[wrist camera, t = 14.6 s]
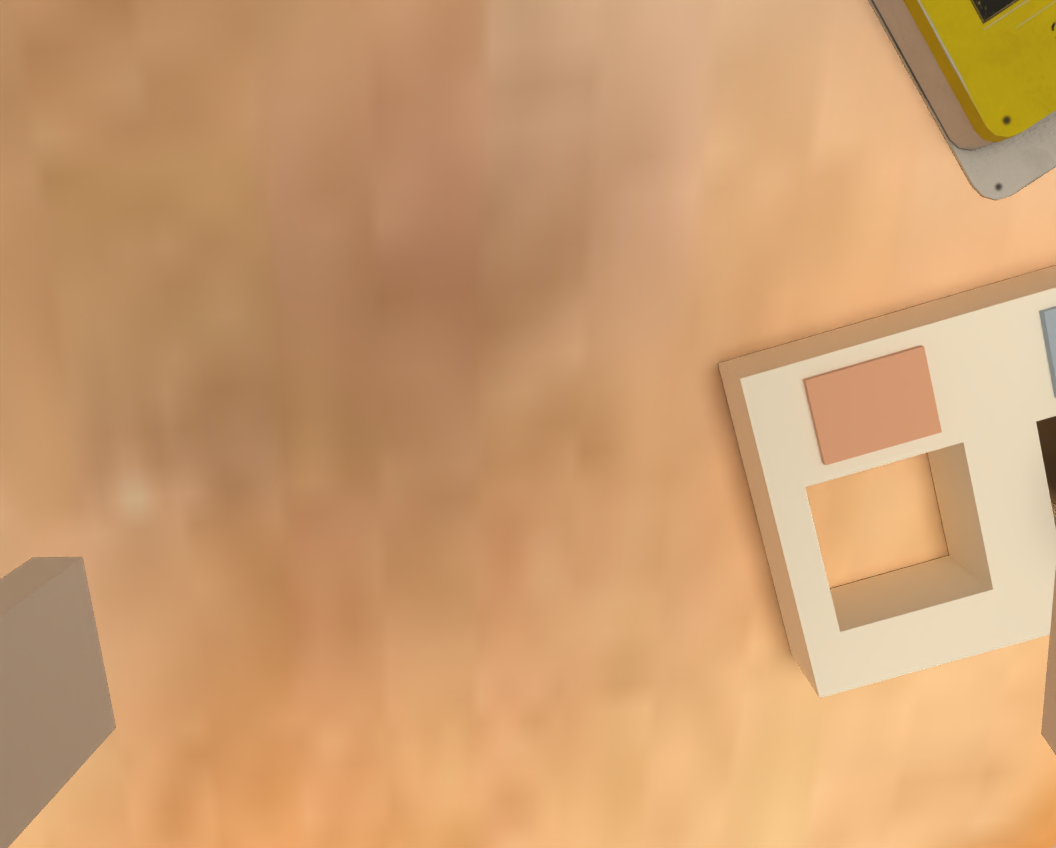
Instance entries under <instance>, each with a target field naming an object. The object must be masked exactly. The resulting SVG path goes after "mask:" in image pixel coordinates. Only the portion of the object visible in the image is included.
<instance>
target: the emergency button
mask: <svg viewBox="0 0 1056 848" xmlns="http://www.w3.org/2000/svg"><path fill="white" fill-rule="evenodd" d="M868 1H869V3H870V4H871V6H872V8H873V10H874V12H875V13H876V15H877V17H878V19H879V21H880V22H881V24H882V26H883V28H884V30H885V31H886V33H887V35H888V37H889V39H890V40H891V42H892V44H893V46H894V48H895V49H896V51H897V53H898V55H899V57H900V58H901V60H902V62H903V64H904V66H905V68H906V69H907V71H908V73H909V75H910V77H911V78H912V80H913V82H914V84H915V86H916V87H917V89H918V91H919V93H920V95H921V96H922V98H923V100H924V102H925V104H926V105H927V107H928V109H929V111H930V113H931V114H932V116H933V118H934V120H935V122H936V123H937V125H938V127H939V129H940V131H941V132H942V134H943V136H944V138H945V140H946V141H947V143H948V145H949V147H950V149H951V150H952V152H953V154H954V156H955V158H956V159H957V161H958V163H959V165H960V167H961V168H962V170H963V172H964V174H965V176H966V178H967V179H968V181H969V183H970V185H971V186H972V187H973V188H974V189H975V190H976V191H977V192H978V193H979V194H980V196H982V197H986V198H989V199H992V200H999V199H1002V198H1006V197H1009V196H1012V195H1013V194H1015V193H1016V192H1018V191H1019V190H1021V189H1022V188H1024V187H1026V186H1027V185H1029V184H1030V183H1032V182H1033V181H1035V180H1036V179H1038V178H1039V177H1041V176H1042V175H1044V174H1046V173H1047V172H1049V171H1050V170H1052V169H1053V168H1055V167H1056V0H868Z"/></svg>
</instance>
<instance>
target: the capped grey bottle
mask: <svg viewBox="0 0 1056 848" xmlns="http://www.w3.org/2000/svg"><path fill="white" fill-rule="evenodd" d="M1036 424H1037V430H1038V435H1039V440H1040V446H1041V451H1042V456H1043V462H1044V467H1045V473H1046V478H1047V483H1048V489H1049V494H1050V500H1051V502H1052V503H1054V504H1056V416H1054V417H1050V418H1047V419H1043V420H1040V421H1036Z"/></svg>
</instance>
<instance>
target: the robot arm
mask: <svg viewBox="0 0 1056 848" xmlns="http://www.w3.org/2000/svg"><path fill="white" fill-rule="evenodd" d="M115 728H116V724H115V719H114V714H113V709H112V704H111V699H110V694H109V689H108V684H107V679H106V674H105V668H104V663H103V658H102V653H101V648H100V643H99V638H98V633H97V628H96V623H95V618H94V612H93V607H92V602H91V597H90V592H89V587H88V582H87V577H86V572H85V567H84V562H83V557H38V558H31V559H30V560H28V561H27V562H25V563H24V564H22V565H21V566H19V567H18V568H16V569H15V570H13V571H12V572H10V573H9V574H7V575H6V576H4V577H3V578H2V579H0V848H8V847H9V846H10V845H11V844H12V843H13V841H14V840H15V839H16V838H17V837H18V836H19V835H20V834H21V833H22V831H23V830H24V829H25V828H26V827H27V826H28V825H29V824H30V823H31V821H32V820H33V819H34V818H35V817H36V816H37V815H38V814H39V813H40V811H41V810H42V809H43V808H44V807H45V806H46V805H47V804H48V803H49V801H50V800H51V799H52V798H53V797H54V796H55V795H56V794H57V793H58V791H59V790H60V789H61V788H62V787H63V786H64V785H65V784H66V783H67V781H68V780H69V779H70V778H71V777H72V776H73V775H74V774H75V773H76V771H77V770H78V769H79V768H80V767H81V766H82V765H83V764H84V763H85V761H86V760H87V759H88V758H89V757H90V756H91V755H92V754H93V753H94V751H95V750H96V749H97V748H98V747H99V746H100V745H101V744H102V743H103V741H104V740H105V739H106V738H107V737H108V736H109V735H110V734H111V733H112V731H113V730H114V729H115ZM1041 734H1042V736H1043V737H1044V739H1045V740H1046V741H1047V743H1048V744H1049V746H1050V747H1051V749H1052V750H1053V752H1054V753H1055V755H1056V570H1055V581H1054V593H1053V604H1052V616H1051V627H1050V639H1049V650H1048V662H1047V673H1046V685H1045V696H1044V707H1043V719H1042V730H1041Z"/></svg>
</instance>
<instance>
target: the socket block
mask: <svg viewBox="0 0 1056 848" xmlns="http://www.w3.org/2000/svg"><path fill="white" fill-rule="evenodd" d="M718 366H719V370H720V374H721V378H722V382H723V386H724V390H725V394H726V398H727V402H728V406H729V410H730V414H731V417H732V421H733V425H734V429H735V433H736V437H737V441H738V445H739V449H740V453H741V457H742V461H743V465H744V469H745V473H746V477H747V481H748V485H749V489H750V493H751V496H752V500H753V504H754V508H755V512H756V516H757V520H758V524H759V528H760V532H761V536H762V540H763V544H764V548H765V552H766V556H767V560H768V564H769V568H770V572H771V576H772V579H773V583H774V587H775V591H776V595H777V599H778V603H779V607H780V611H781V615H782V619H783V623H784V627H785V631H786V635H787V639H788V643H789V647H790V651H791V655H792V656H793V658H794V659H795V661H796V663H797V664H798V666H799V667H800V669H801V670H802V672H803V673H804V675H805V676H806V678H807V679H808V681H809V683H810V684H811V686H812V687H813V689H814V690H815V692H816V693H817V695H818V696H819V698H822V697H825V696H829V695H833V694H836V693H840V692H843V691H847V690H851V689H854V688H858V687H862V686H865V685H869V684H872V683H876V682H880V681H883V680H887V679H890V678H894V677H898V676H901V675H905V674H909V673H912V672H916V671H919V670H923V669H927V668H930V667H934V666H938V665H941V664H945V663H948V662H952V661H956V660H959V659H963V658H967V657H970V656H974V655H977V654H981V653H985V652H988V651H992V650H996V649H999V648H1003V647H1006V646H1010V645H1014V644H1017V643H1021V642H1025V641H1028V640H1032V639H1035V638H1039V637H1043V636H1046V635H1050V627H1051V616H1052V604H1053V593H1054V581H1055V570H1056V526H1055V521H1054V516H1053V510H1052V505H1051V500H1050V494H1049V489H1048V483H1047V478H1046V473H1045V467H1044V462H1043V456H1042V451H1041V446H1040V440H1039V435H1038V430H1037V424H1036V421H1040V420H1043V419H1047V418H1050V417H1054V416H1056V265H1055V266H1052V267H1048V268H1045V269H1041V270H1038V271H1034V272H1031V273H1027V274H1024V275H1021V276H1017V277H1014V278H1010V279H1007V280H1003V281H1000V282H996V283H993V284H990V285H986V286H983V287H979V288H976V289H972V290H969V291H965V292H962V293H959V294H955V295H952V296H948V297H945V298H941V299H938V300H934V301H931V302H928V303H924V304H921V305H917V306H914V307H910V308H907V309H903V310H900V311H897V312H893V313H890V314H886V315H883V316H879V317H876V318H872V319H869V320H866V321H862V322H859V323H855V324H852V325H848V326H845V327H841V328H838V329H835V330H831V331H828V332H824V333H821V334H817V335H814V336H810V337H807V338H804V339H800V340H797V341H793V342H790V343H786V344H783V345H780V346H776V347H773V348H769V349H766V350H762V351H759V352H755V353H752V354H749V355H745V356H742V357H738V358H735V359H731V360H728V361H724V362H721V363H718ZM924 453H927V454H928V458H929V463H930V468H931V473H932V477H933V482H934V487H935V492H936V496H937V501H938V506H939V510H940V515H941V520H942V525H943V529H944V534H945V539H946V544H947V548H948V553H949V556H945V557H942V558H938V559H935V560H931V561H928V562H924V563H920V564H917V565H913V566H910V567H906V568H903V569H899V570H895V571H892V572H888V573H885V574H881V575H878V576H874V577H871V578H867V579H863V580H860V581H856V582H853V583H849V584H846V585H842V586H838V587H835V588H831V589H830V588H829V584H828V580H827V575H826V571H825V567H824V563H823V559H822V555H821V550H820V546H819V542H818V538H817V534H816V530H815V526H814V521H813V517H812V513H811V509H810V505H809V501H808V496H807V492H806V488H805V487H808V486H811V485H815V484H818V483H822V482H825V481H829V480H832V479H836V478H839V477H843V476H846V475H850V474H853V473H857V472H860V471H864V470H867V469H871V468H874V467H878V466H881V465H885V464H888V463H892V462H895V461H899V460H903V459H906V458H910V457H913V456H917V455H920V454H924Z"/></svg>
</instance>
